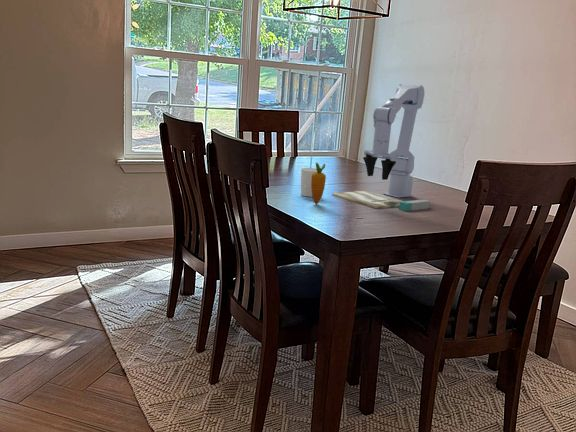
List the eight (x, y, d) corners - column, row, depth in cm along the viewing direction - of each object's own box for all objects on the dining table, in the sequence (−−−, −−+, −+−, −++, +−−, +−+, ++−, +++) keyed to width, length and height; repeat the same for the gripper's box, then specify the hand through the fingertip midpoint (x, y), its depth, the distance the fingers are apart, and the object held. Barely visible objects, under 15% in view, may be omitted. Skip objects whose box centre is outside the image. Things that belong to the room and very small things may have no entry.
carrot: (322, 203, 192) (326, 162, 188) (324, 206, 187) (327, 164, 183) (308, 202, 191) (312, 161, 188) (309, 205, 186) (313, 163, 183)
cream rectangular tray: (365, 192, 218) (365, 188, 218) (410, 205, 200) (410, 200, 199) (332, 195, 208) (332, 190, 207) (376, 208, 189) (376, 203, 189)
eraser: (424, 206, 199) (425, 199, 199) (431, 208, 197) (432, 200, 196) (398, 209, 191) (399, 201, 190) (405, 211, 189) (406, 203, 188)
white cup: (302, 197, 200) (304, 170, 197) (296, 192, 207) (298, 167, 205) (322, 197, 202) (324, 171, 200) (315, 193, 209) (318, 168, 207)
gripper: (359, 138, 196) (355, 174, 199) (388, 143, 184) (383, 181, 188) (373, 138, 200) (369, 173, 203) (402, 143, 188) (397, 180, 192)
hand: (377, 177), depth 196 cm, fingers open, 7 cm apart
